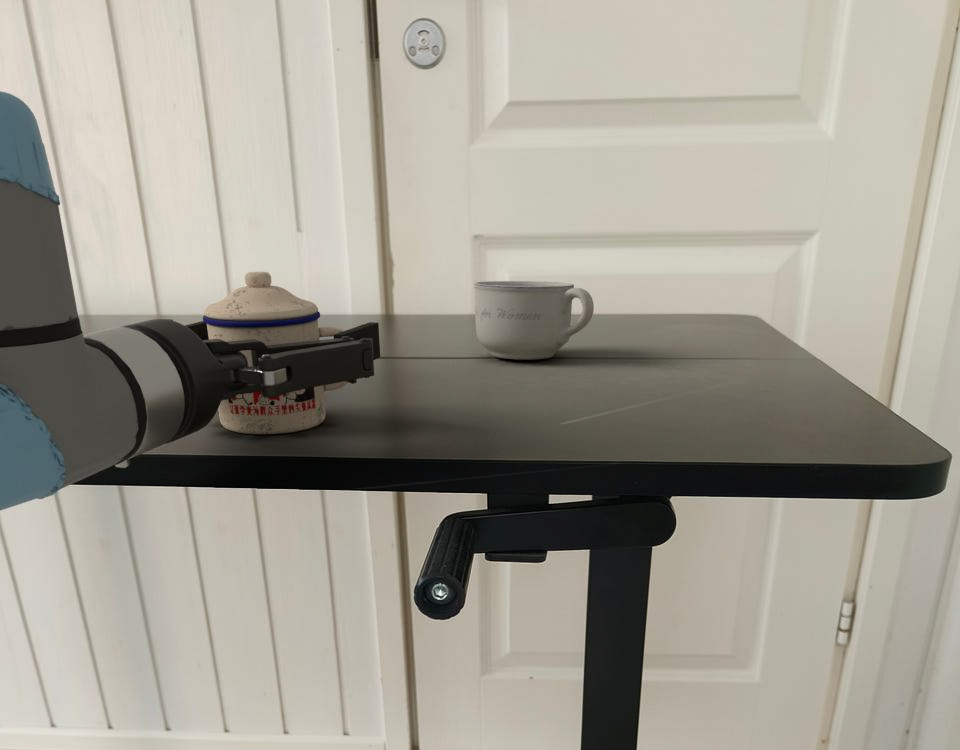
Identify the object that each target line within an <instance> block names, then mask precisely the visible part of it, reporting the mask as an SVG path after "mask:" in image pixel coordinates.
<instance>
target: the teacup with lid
mask: <svg viewBox="0 0 960 750" xmlns="http://www.w3.org/2000/svg"><path fill="white" fill-rule="evenodd" d="M244 283H245V285H246V286H240V287H238V288H235V289H234V290H233V291H231V292H230V293H229V294H227V296H226V297H224V298H223V299H220V300H219V301H217V302H215V303H212V304H208V306H206V307H205V308H204V311H203V316H202V321H204V322H205V323H207V330H208V337H209V340H210V339H221V340H223V341H225V342H229V341H239V340H250V339H256V340H258V341H261V342H263V343H264V344H265V345H275V344H285V343H295V342H305V341H315V340H320V338H329V337H334V334H337V333H340V332H343V331H346V330H345V329H343V328H340V327H336V326H324V327H319V319H320V318H321V312H320V311H319V308H318V306H317V305H316V303H315V302H313V301H310V300H306V299H303V298H301V297H298V296H296V295H294V294H293V293H292V292H290V291H289V290H287V289H285V288H284V287H281V286H277V285H271V284H272V276H271V274H270V273H269V272H268V271H250V272H249V271H248V272H246V273H245V275H244ZM240 352H242V353H243V355H244V357H245V359H246V361H247V363H248V366H251V367H252V366H253V364H252V355H251V350H244V351H240ZM348 383H349V382H347V381H343V382H338V383H333V384H328V385H322V386H317V387H312V388H306V389H301V390H296V391H292V392H289V393H286V394H283V395H280V396H276V397H275V398H268V397H263V396H262V392H255V393H246V394H238V395H236V396H235V397H234V398H232V399H228V400H222V401H221V403H220V405H219V408H218V410H217V411H218V417H219V423H220V425H221V426H222V427H223V428H225V429H226V430H229V431H232V432H234V433H238V434H239V433H240V434H245V435H246V434H248V435H280V434H290V433H296V432H301V431H306V430H309V429H312V428H314V427H317V426H319V425H320V424H322V423H323V422H324V421H325V419H326V415H327V413H326V404H325V403H326V401H325V392H331V391H334V390H338V389H341V388H343V387H344V386H346V385H347V384H348Z"/></svg>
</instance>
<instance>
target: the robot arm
mask: <svg viewBox="0 0 960 750" xmlns="http://www.w3.org/2000/svg"><path fill="white" fill-rule="evenodd" d="M49 163H50V162H49V159H48V155H47V152H46V148H45V144H44V142H43V138H42V135H41V132H40V128H39V124H38V120H37V118H36V116H35V114H34V113H33V111H32V110H31V108H30V107H29V106H28V105H27V104H26V103H25V102H24V101H23V100H22V99H20V97H18V96H15V95H14V94H11V93H9V92H6V91H2V90H1V91H0V512H1V511H3V510H7V509H10V508H13V507H15V506H18V505H21V504H24V503H27V502H31V501H34V500H43V499H45V498H49V497H52V496H54V495H55V494H57V493H58V492H59V491H61V490H62V489H64V488H66V487H68V486H70V485H74V484H75V483H77V482H80V481H82V480H84V479H87V478H89V477H90V476H93V475H95V474H97V473H99V472H102V471H104V470H106V469H108V468H111V467H113V466H114V467H115V468H119V469H126V468H127V467H129V466H130V465H131V459H133V458H135V457H137V456H139V455H142V454H144V453H147V452H149V451H151V450H154V449H156V448H159V447H161V446H164V445H166V444H171V443H173V442H175V441H178V440H180V439H183V438H185V437H187V436H190V435H191V434H194V433H197V432H199V431H201V430H202V429H204V428H205V427H206V426H207V425H208V424H210V423H211V422H212V420H213V419H214V418H215V415H216V414H217V412H218V411H219V410H218V408H219V405H220V403H221V401H222V400H228V399H232V398H234V397H235V396H236V395H238V394H246V393H255V392H262V396H263V397H268V398H275V397H276V396H280V395H283V394H286V393H289V392H292V391H296V390H301V389H306V388H312V387H317V386H322V385H328V384H333V383H338V382H343V381H347V382H348V383H349V384H351V385H354V384H357V382H358V380H359V379H370V378H371V377H374V376H375V364H374V361H375V360H377V359H380V358H381V342H380V326H379V325H380V323H379V322H375V321H374V322H373V321H370V322H367V323H363V324H361V325H360V324H359V325H358V326H355V327H352V328H349V329H346V330H345V331H343V332H340V333H337V334H334V336H333V338H328V339H327V338H325V339H319V340H315V341H305V342H295V343H285V344H275V345H265V344H264V343H263V342H261V341H258V340H256V339H250V340H239V341H229V342H225V341H223V340H221V339H210V340H209V337H208V330H207V323H205V322H204V321H203V320H201V321H197V322H193V323H190V324H185V325H184V324H182V323H180V322H177V321H174V319H171V318H154V319H148V320H143V321H139V322H136V323H131V324H127V325H122V326H113V327H109V328H105V329H101V330H97V331H93V332H92V331H91V332H88V333H85V334H84V331H83V330H82V326H81V321H80V317H79V313H78V308H77V302H76V296H75V290H74V285H73V279H72V274H71V268H70V263H69V258H68V251H67V246H66V241H65V235H64V230H63V223H62V219H61V213H60V207H59V206H60V205H61V200H60V196H59V195H58V194H57V192H56V189H55V184H54V180H53V175H52V172H51V167H50V164H49ZM244 350H251V355H252V364H253V366H252V367H251V366H248V363H247V361H246V359H245V357H244V355H243V353H242V352H240V351H244Z"/></svg>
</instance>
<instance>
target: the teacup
mask: <svg viewBox="0 0 960 750" xmlns="http://www.w3.org/2000/svg"><path fill="white" fill-rule="evenodd" d="M473 286H474V291H475V293H474V318H475V319H474V322H475V333H476V337H477V339H478V342H479V343H480V344H481V345H482V347H484V349H486V350H487V351H488V352H489V354H490V355H491V356H492V357H495V358H498V359H506V360H508V359H509V360H522V361H523V360H526V361H527V360H544V359H549V358H552V357H554V355H555V353H556V352H557V351H559V350H560V349H561V348H563V347H564V345H566V344H567V343H568V342H569V340H570V338H571V337H572V336H574V335H576V334H578V333H579V332H580V331H582V330H583V329H584V328H585V327H587V325H588V324H589V323H590V322H591V320H592V318H593V316H594V311H595V310H594V309H595V306H594V300H593V297H592V295H591V294H590V293H589V291H587V290H586V289H584V288H582V287H575V284H574V283H570V282H562V281H561V282H559V281H538V280H537V281H532V280H488V281H487V280H485V281H476V282H474V285H473ZM575 298H576V299H578V300H579V301H580V303H581V305H582V311H581V314H580V316H579V318H578V319H577V320H576V321H575V322H574V323H572V322H571V320H572V310H573V309H572V308H573V300H574V299H575ZM571 323H572V324H571Z"/></svg>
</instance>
